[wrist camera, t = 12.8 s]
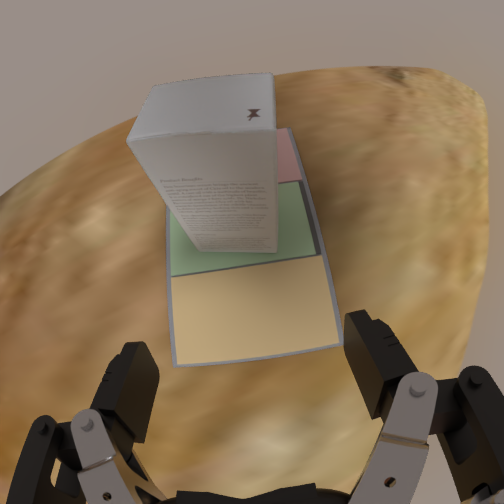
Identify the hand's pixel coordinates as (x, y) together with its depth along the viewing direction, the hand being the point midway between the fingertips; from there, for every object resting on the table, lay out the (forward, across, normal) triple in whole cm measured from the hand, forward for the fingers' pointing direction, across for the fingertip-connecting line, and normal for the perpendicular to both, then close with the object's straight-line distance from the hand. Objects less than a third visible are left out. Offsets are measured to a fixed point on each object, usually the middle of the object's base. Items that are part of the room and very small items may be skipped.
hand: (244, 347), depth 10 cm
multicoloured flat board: (+13, 0, -1) cm, 13 cm away
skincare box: (+12, 0, -1) cm, 12 cm away
